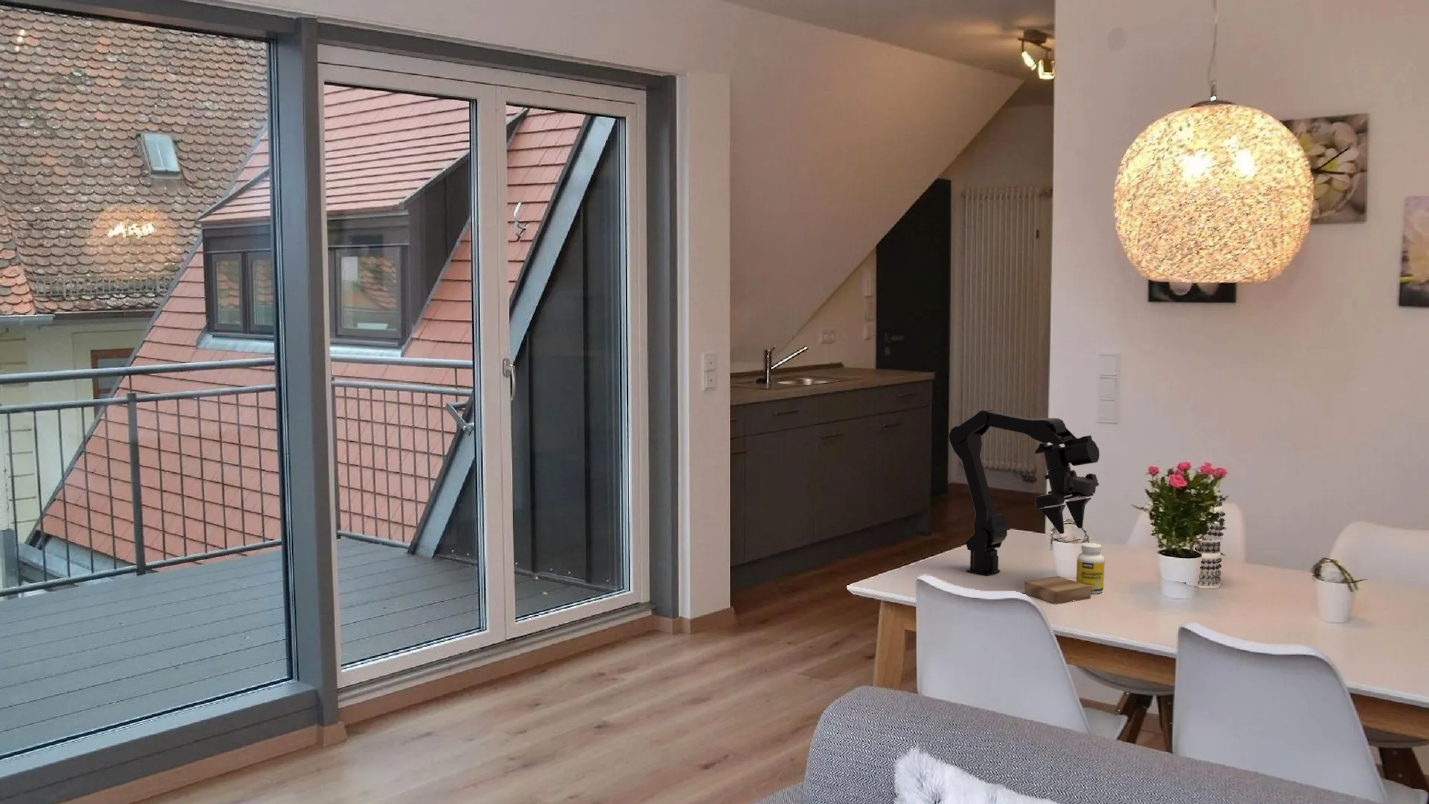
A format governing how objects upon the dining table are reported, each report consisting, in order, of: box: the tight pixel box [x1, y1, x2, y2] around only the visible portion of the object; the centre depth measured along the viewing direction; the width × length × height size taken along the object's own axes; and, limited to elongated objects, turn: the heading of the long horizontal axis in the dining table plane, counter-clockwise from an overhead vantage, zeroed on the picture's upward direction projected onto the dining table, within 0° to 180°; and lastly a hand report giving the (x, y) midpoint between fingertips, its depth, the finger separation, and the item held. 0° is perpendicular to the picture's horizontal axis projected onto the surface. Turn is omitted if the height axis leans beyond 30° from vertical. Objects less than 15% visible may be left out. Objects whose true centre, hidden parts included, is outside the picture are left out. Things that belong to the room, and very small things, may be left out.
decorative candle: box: [1195, 486, 1226, 589], centre depth 303 cm, size 9×9×25 cm
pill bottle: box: [1075, 542, 1105, 595], centre depth 296 cm, size 6×6×12 cm
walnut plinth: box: [1023, 576, 1092, 605], centre depth 292 cm, size 11×11×3 cm
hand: (1071, 530), depth 297 cm, fingers open, 9 cm apart
